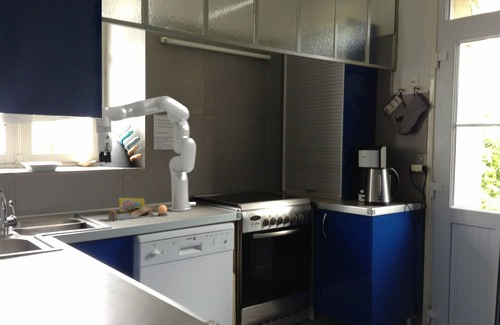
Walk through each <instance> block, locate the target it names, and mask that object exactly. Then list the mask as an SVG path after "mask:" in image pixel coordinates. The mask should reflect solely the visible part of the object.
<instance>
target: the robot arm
mask: <svg viewBox="0 0 500 325" xmlns="http://www.w3.org/2000/svg"><path fill="white" fill-rule="evenodd" d="M102 107H103V117H102V118H101V119H96V118H95V128H96V131H95V133H96V134H97V150H98V162H99V163H106V164H109V163H110V164H111V163H112V151H113V141H112V140H113V138H112V135H111V133H112V123H111V122H119V121H122V120H125V119H130V118H139V117H144V116H148V115H153V114H157V113H163V112H166V113H167V119H168V120H169V121H170V122H171V123H172V125H173V126H174V139H173V147H172V148H173V151H174V152H175V153H176V154H178V155H177V156H173V157H172V158H171V159H170V161H169V165H168V166H169V171H170V177H171V178H170V180H171V207H169V211H172V212H184V211H190V210H192V207H191V206H196V205H197V203H196V201H192V202H191V201H189V181H188V174H187V173H191V172H192V171H193V170H194V168H195V163H196V162H195V161H196V155H197V154H196V153H197V144H196V141H195V140H194V139H193V138H191V137H190V126H189V125H190V124H189V122H188V119H189V118H190V111H189V110H188V108H187V107H186V106H184V105H183V104H182V103H180V102H178V101H177V100H175V99H174V98H172V97H170V96H168V95H163V96H156V97H152V98H147V99H143V100H138V101H134V102H131V103H127V104H122V105H118V106H102Z"/></svg>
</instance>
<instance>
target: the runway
mask: <svg viewBox="0 0 500 325" xmlns="http://www.w3.org/2000/svg"><path fill="white" fill-rule="evenodd" d="M129 214H130V212H125V213H119V214H118V213H117V220H119V221H126V220H125V219H127V220H132V219H133V220H134V219H141V218H142V219H143V218H149V217H154V216H155V215H154V214H153V215H149V216H148V215H145V214H142V215H140V216H138V217H135V215H130V216H129ZM108 218H109V216H108ZM115 220H116V219H114V221H113V219H112V220H111V221H113V222H116V221H115Z"/></svg>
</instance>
